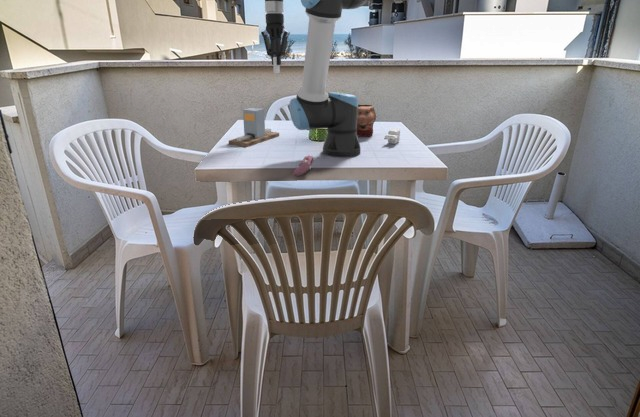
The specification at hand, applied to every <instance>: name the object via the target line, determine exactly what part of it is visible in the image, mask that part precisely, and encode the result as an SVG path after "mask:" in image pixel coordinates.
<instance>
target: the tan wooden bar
mask: <svg viewBox="0 0 640 417" xmlns="http://www.w3.org/2000/svg"><path fill="white" fill-rule="evenodd" d="M271 132H272V129H271V128H265V134H268V133H271ZM236 138H237V141H239V142H243V141H246V140H249V139H252V138H255V134H252V133H251V134H248V135H241V136H238V137H236Z"/></svg>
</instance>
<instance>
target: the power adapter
mask: <svg viewBox="0 0 640 417" xmlns="http://www.w3.org/2000/svg"><path fill="white" fill-rule="evenodd" d="M400 136H401V129H399V128H391V129H389V130H388V134H386V135H384V140H387V143H388V144H393V145H396V144H398V143H400V139H401V138H400Z"/></svg>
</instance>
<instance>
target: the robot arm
mask: <svg viewBox="0 0 640 417" xmlns="http://www.w3.org/2000/svg"><path fill="white" fill-rule="evenodd" d="M367 2H368V0H300V3H301V6H302V7H304V8H305V11H304V12H305V14H306V15H307V16H308V28H307V36H306V46H305V54H304V64H303V72H302V73H303V74H302V81H301V82H302V83H301V88H299V89H298V90H297V91H296V97H293V98H291V99H290V101H289V106H288V107H289V114H290V119H291V121H292V124H293V125H294V127H295V128H296V129H297V130H299V131H305V130H306V131H310V130H319V129H321V130H322V129H327V130H326V132H327V133H326V136H325V138H324V142H323V145H322V153H323V154H324V155H327V156H329V157H334V158H336V157H337V158H348V157H356V156H359V155H360V154H361V144H360V140H359V138H358V137H359V136H357V114H358V105H359V101H358V96H357V95H355V94H350V93H344V92H336V91H329V92H327V91H326V88H327V87H326V86H327V83H328V82H327V81H328V74H329V67H330V61H331V54H332V47H333V40H334V36H335V34H334V33H335V26H336V22H337V21H338V20H339V19H340V18H342V12H343V10H356V9H358V8H360V7H362V6H364V5H365V4H366V3H367ZM264 11H265V13H266V14H265V23H266V26H265V30H263V31H261V32H260V34H261V36H262V37H263V42H264V46H265V51H266V55H267V56H269V57H270V58H271V65H273V67H272V68H273V74H280V72H281V70H280V67H281V65H282V57H283V56H285V55H286V49H287V45H288V38H289V36H290V34H291V32H290V31H288V30H286V29H285V25H284V23H285V18H284V17H285V16H284V0H264Z"/></svg>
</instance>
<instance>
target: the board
mask: <svg viewBox="0 0 640 417" xmlns="http://www.w3.org/2000/svg"><path fill="white" fill-rule="evenodd" d="M279 136H280V132H276V131H271V133H268V134H265V136H264V137H261V138H258V139H256V138H252V139H249V140H246V141H243V142H239V141H237V138H238V137H236V138H233V139H229V140H228V145H233V146H239V147H245V148H248V147H251V146H254V145H257V144H259V143H262V142H266V141H268V140H271V139H274V138H278V137H279Z"/></svg>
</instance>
